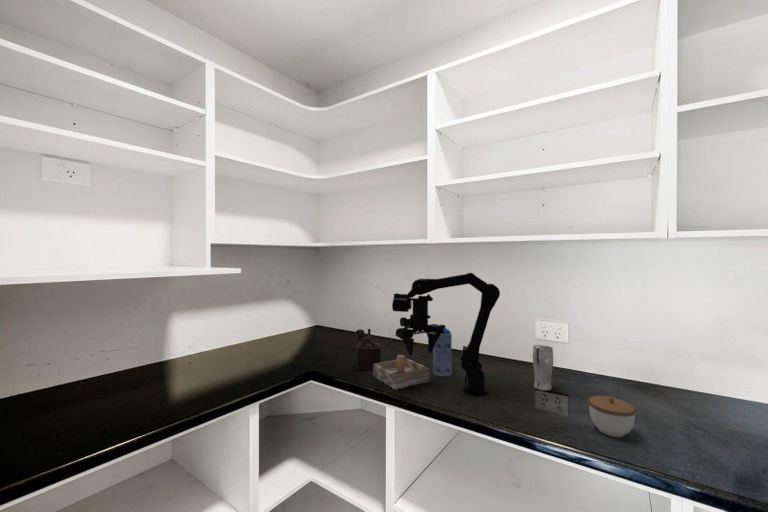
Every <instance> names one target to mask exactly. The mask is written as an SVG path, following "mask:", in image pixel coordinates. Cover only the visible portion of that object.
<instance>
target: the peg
mask: <svg viewBox="0 0 768 512" xmlns="http://www.w3.org/2000/svg"><path fill="white" fill-rule="evenodd" d="M405 358H406V356H405V355H403V354H398V355H396V360H397V374H402V373H405Z"/></svg>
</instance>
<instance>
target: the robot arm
mask: <svg viewBox="0 0 768 512" xmlns="http://www.w3.org/2000/svg"><path fill="white" fill-rule="evenodd" d="M464 285H470V286H472V287H473V288H475V289H476V290H477V291H478V292H480V293H481V295H480V306H479V311H478V314H477V316H476V321H475V323H474V326H473V329H472V334H471V337H470V340H469V342H468V344H467V345H462V352H461V353H460V355H459V361H461V362H460V363H461V364H460V366H461V367H462V369H463V371H465V376H464V388H461V389H462V391H463V392H466V393H468V394H470V395H472V396H474V397H477V396H481V395H485V394H487V393H488V390H486V388H485V387H486V385H485V383H486V382H485V381H486V379H485V377H486V376H485V373H484V372H485V371H484V365H482V363H481V362H480V361H479V358H480V347H481V345H482V340H483V337H484V335H485V332H486V329H487V325H488V321H489V318H490V315H491V312H492V310H493V308H494V307H495V305H496V303H497V302H498V300H499V298H500V295H501V292H500V289H499V288H498V286H496V285H495V284H493V283H487V282H485V281H484V280H483V279H481V278H480V277H478V276H476V274H475V273H473V272H467V273H465V274H459V275H458V274H457V275H452V276H447V277H441V278H440V277H439V278H417V279H416V280H413V283H412V284H411V289H410V290H409V292H408V293H394V294H393V299H392V303H391V307H392V312H398V313H399V312H402V313H403V312H404V313H408V312H409V311H410V310H412V314H410V315H409V316H410V317H409V318H407V317H406V316H404V317H400V318H399V325H400V327H399V328H397V329H396V331H395V336H396V337H398V338H399V339H401V341H403V343H404V345H405V347H406V351H407V354H408V356H409V357H412V355H413V350H414V349H413V348H414V341H415V339H414V338H413V337H414V335H419V334H426V337H427V349H428V353H432V352H433V348H434V345H435V343H436V342H437V340H438V338H439V337H440V336H441V334H443V333H444V328H443V327H442V326H441V325H442V324H436V323H432V324H429V320H430V319H431V315H429V302H433V300H434V298H433V297H432V296H431V295H430V292H433V291H436V290H440V289H445V288H446V289H447V288H453V287H457V286H458V287H459V286H464ZM425 294H427V295H425ZM417 295H418V296H417ZM416 296H417V297H416Z"/></svg>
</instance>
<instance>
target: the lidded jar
mask: <svg viewBox="0 0 768 512" xmlns="http://www.w3.org/2000/svg"><path fill="white" fill-rule="evenodd" d="M588 410H589V415H590V419H591V421H592V422H593V424H594V425H595V426H596V428H597V429H598V431H599V432H601V434H604V435H606V436H609V437H614V438H623V437H625V435H627V434H629V433H630V432H631V431H632V429H633V428H634V425H635V421H636V420H635V418H636V407H635V406H634V405H633V404H631V403H630V402H628V401H625V400H624V399H623V400H622V399H618V398H617V397H613V396H605V395H594V396H591V397H589V398H588Z"/></svg>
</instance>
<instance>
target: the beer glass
mask: <svg viewBox="0 0 768 512" xmlns="http://www.w3.org/2000/svg"><path fill="white" fill-rule="evenodd" d="M532 348H533V349H532V367H533V371H534V383H533V387H534V389H537V390H540V391H545V392H546V391H547V392H548V391H551V390H552V389H553V386H552V382H551V381H552V372H553V368H554V350H553V347H551V346H550V345H549V346H548V345H542V344H537V345H536V344H535V345H533V347H532Z"/></svg>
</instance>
